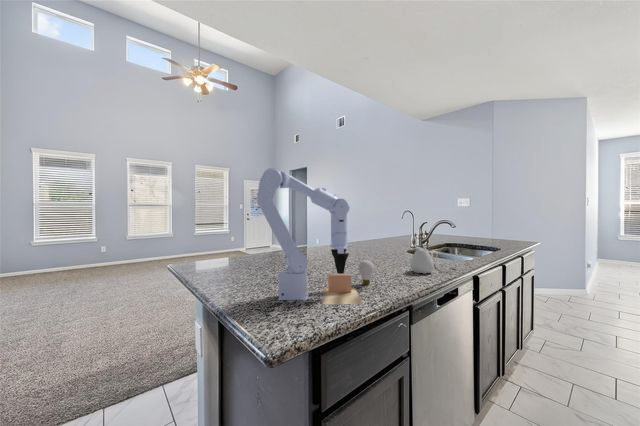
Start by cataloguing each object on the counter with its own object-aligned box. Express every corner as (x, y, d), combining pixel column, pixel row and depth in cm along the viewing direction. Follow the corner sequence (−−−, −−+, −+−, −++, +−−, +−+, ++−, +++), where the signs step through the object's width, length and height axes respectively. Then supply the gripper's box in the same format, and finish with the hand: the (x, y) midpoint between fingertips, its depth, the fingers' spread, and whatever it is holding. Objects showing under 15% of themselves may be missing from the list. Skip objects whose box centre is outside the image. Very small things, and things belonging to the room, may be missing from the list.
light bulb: (374, 288, 101) (373, 261, 101) (358, 287, 102) (357, 261, 102) (374, 284, 107) (373, 259, 107) (359, 283, 108) (358, 258, 108)
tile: (328, 292, 94) (328, 275, 94) (328, 290, 96) (328, 274, 96) (351, 292, 94) (351, 275, 94) (350, 290, 96) (350, 273, 96)
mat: (323, 306, 82) (323, 304, 82) (322, 289, 100) (322, 287, 100) (362, 306, 82) (362, 304, 82) (354, 289, 100) (354, 287, 100)
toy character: (433, 270, 129) (433, 245, 129) (434, 275, 120) (433, 248, 120) (411, 269, 133) (410, 245, 133) (409, 273, 124) (409, 247, 124)
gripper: (352, 234, 88) (353, 275, 88) (348, 230, 103) (348, 266, 103) (331, 234, 88) (331, 275, 88) (329, 231, 103) (330, 266, 103)
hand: (339, 270), depth 95 cm, fingers open, 7 cm apart
